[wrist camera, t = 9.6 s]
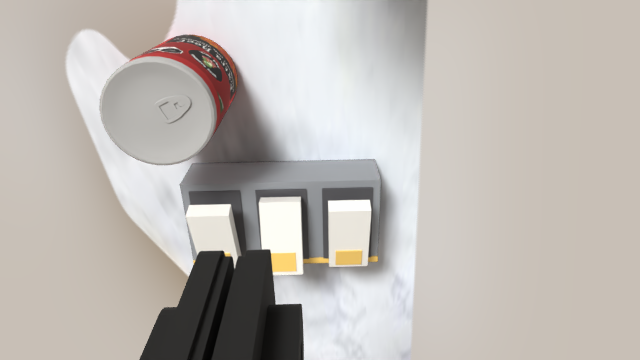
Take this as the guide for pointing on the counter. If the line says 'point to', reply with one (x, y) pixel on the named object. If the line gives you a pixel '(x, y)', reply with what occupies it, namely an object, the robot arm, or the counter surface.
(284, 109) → the counter surface
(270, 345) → the robot arm
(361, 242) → the rocker
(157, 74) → the canned food
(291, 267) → the rocker
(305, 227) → the switch unit
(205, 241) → the rocker
